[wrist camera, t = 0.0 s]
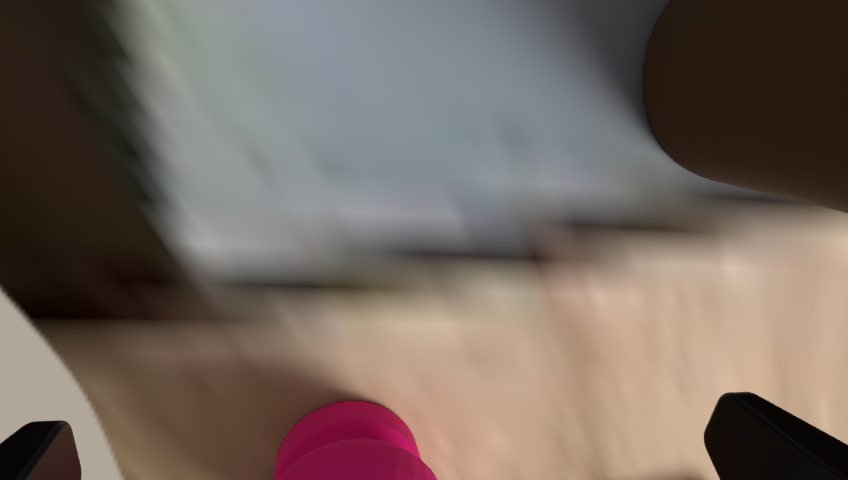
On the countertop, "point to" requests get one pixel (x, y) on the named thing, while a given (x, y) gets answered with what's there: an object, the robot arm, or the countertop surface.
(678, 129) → the olive oil
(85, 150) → the countertop surface
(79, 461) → the robot arm
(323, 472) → the pepper mill
